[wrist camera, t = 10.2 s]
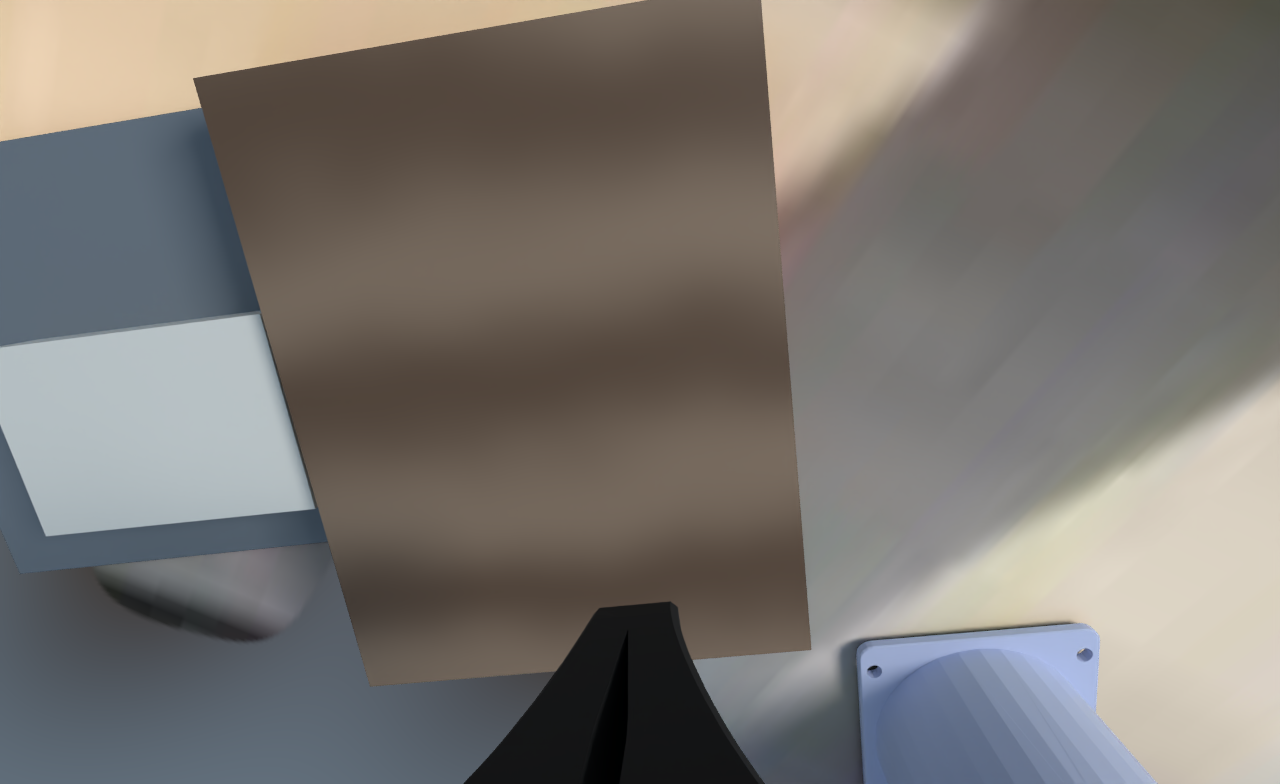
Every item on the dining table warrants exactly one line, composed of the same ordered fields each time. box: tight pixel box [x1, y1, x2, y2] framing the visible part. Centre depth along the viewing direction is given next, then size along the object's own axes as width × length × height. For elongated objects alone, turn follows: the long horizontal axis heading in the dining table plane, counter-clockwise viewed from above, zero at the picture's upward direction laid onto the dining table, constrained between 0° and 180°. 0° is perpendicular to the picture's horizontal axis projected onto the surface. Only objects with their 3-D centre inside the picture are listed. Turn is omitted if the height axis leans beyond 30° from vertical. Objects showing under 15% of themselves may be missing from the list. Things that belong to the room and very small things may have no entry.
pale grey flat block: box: [0, 311, 318, 536], centre depth 19 cm, size 9×6×2 cm, turn 97°
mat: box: [0, 108, 328, 574], centre depth 20 cm, size 14×13×1 cm
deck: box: [193, 0, 811, 686], centre depth 18 cm, size 18×14×3 cm
